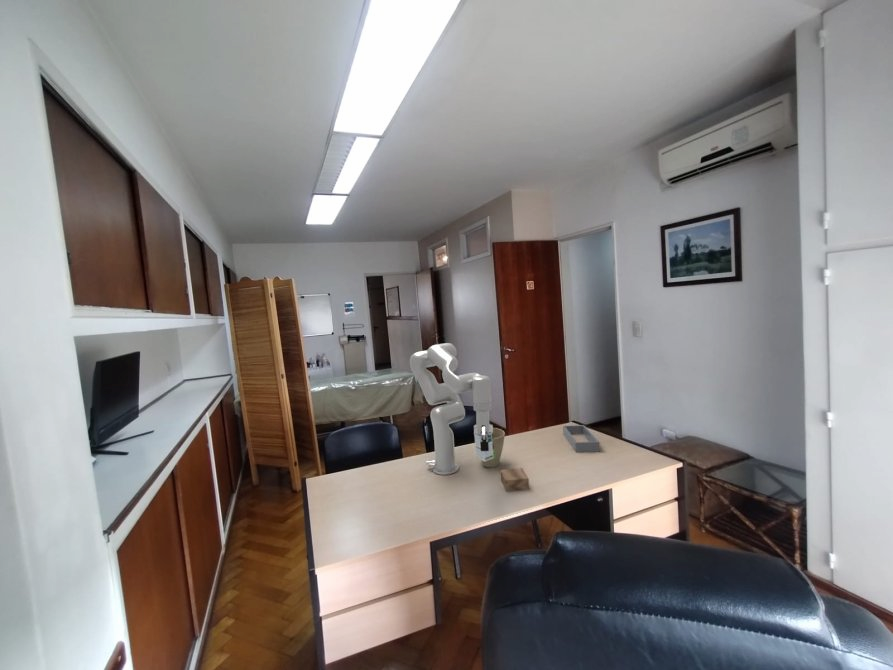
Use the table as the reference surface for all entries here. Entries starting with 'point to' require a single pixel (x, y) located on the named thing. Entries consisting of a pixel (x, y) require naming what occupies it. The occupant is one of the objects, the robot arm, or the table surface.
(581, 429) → the frame
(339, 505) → the table surface
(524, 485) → the walnut block
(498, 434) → the plant pot
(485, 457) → the syrup box
